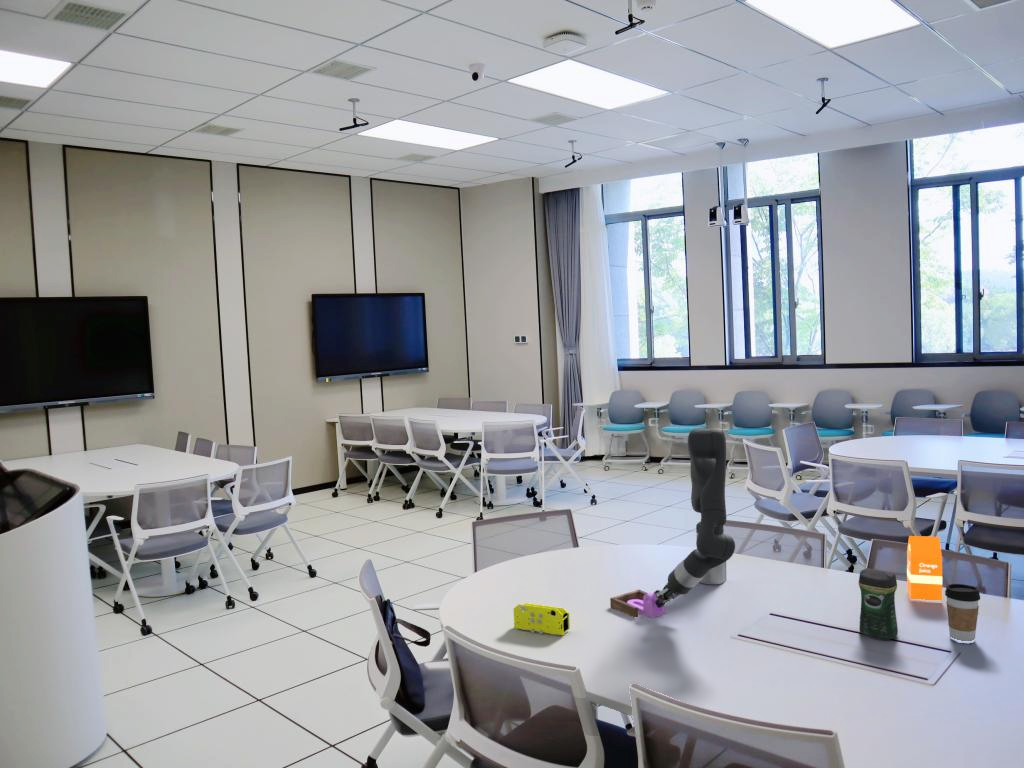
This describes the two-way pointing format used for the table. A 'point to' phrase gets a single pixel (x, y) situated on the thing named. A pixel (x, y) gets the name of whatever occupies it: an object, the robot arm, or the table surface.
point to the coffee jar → (878, 604)
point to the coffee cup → (962, 611)
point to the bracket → (648, 605)
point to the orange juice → (924, 568)
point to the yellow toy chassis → (541, 619)
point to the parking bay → (621, 602)
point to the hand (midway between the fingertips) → (658, 604)
